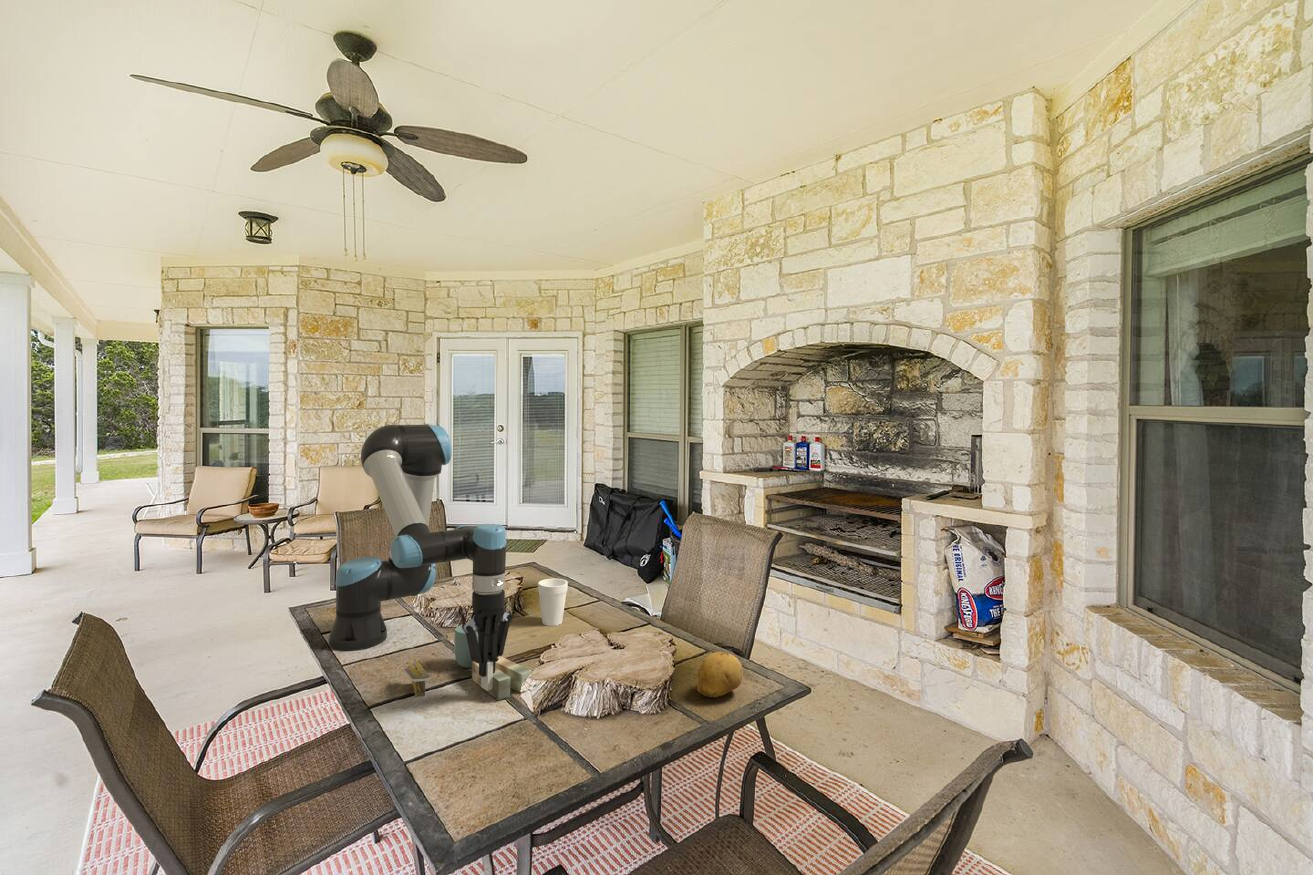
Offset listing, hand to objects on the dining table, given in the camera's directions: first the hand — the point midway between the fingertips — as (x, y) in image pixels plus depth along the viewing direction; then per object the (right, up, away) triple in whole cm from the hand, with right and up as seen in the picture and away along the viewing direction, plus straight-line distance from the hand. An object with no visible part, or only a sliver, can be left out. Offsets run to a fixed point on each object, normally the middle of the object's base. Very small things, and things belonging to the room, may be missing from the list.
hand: (486, 687), depth 144 cm
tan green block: (+1, -2, +8) cm, 8 cm away
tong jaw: (-1, -1, +6) cm, 6 cm away
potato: (+56, -4, +5) cm, 57 cm away
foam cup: (+7, 0, +50) cm, 51 cm away
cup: (-9, -1, +17) cm, 20 cm away
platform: (-18, -2, +2) cm, 18 cm away
